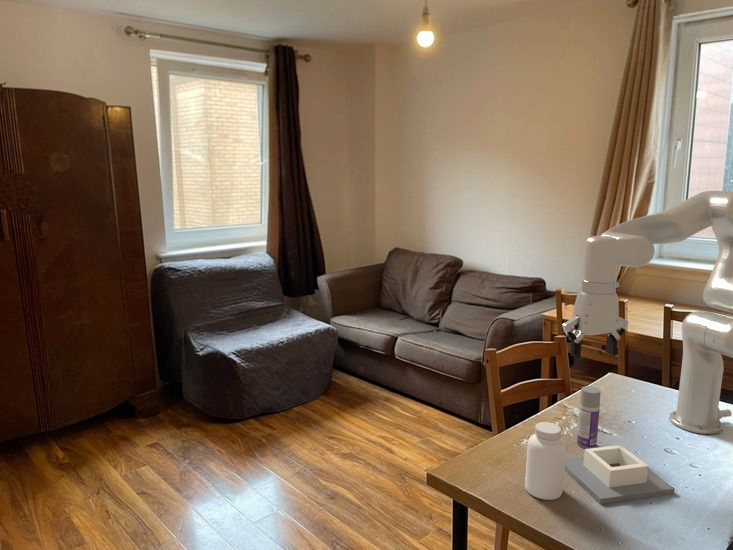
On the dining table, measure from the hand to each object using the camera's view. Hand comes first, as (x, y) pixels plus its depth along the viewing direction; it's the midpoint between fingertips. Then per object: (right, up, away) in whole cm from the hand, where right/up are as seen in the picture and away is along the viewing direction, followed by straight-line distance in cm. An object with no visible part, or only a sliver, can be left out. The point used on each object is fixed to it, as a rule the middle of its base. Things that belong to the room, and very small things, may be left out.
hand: (593, 355), depth 134 cm
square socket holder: (0, -26, -10) cm, 28 cm away
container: (0, -24, +5) cm, 24 cm away
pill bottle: (-17, -28, -15) cm, 36 cm away
